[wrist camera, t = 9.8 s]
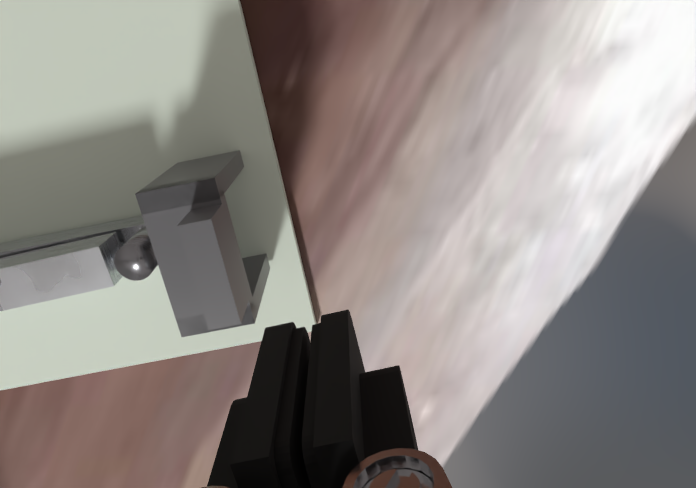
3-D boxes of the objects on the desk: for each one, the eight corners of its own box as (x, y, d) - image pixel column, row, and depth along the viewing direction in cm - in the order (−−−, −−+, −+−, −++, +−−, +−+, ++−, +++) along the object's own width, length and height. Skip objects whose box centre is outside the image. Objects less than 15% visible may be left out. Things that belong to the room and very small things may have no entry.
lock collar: (211, 279, 29) (168, 363, 21) (177, 162, 27) (115, 208, 19) (270, 268, 29) (248, 348, 21) (239, 150, 27) (203, 190, 19)
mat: (-146, 412, 32) (-154, 419, 31) (-385, -16, 25) (-402, -18, 24) (317, 325, 31) (316, 330, 30) (205, -147, 24) (202, -152, 23)
